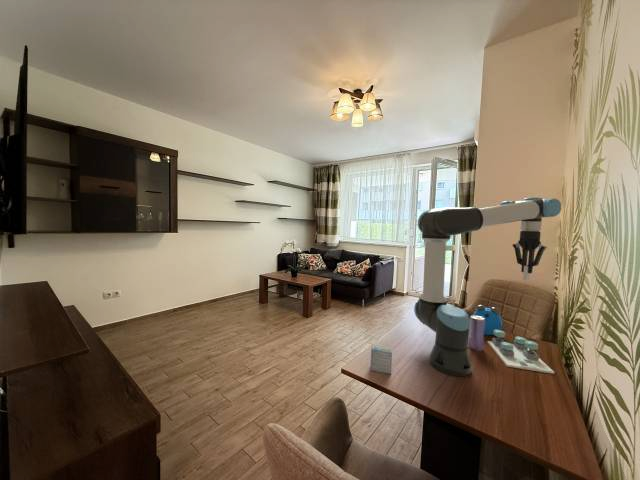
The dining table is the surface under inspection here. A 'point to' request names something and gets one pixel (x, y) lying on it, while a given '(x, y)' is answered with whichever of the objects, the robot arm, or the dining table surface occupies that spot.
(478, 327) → the beverage can
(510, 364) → the board
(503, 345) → the button
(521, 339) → the button
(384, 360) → the medicine box
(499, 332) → the button
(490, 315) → the alarm clock
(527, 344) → the button
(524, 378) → the dining table surface
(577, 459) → the dining table surface
